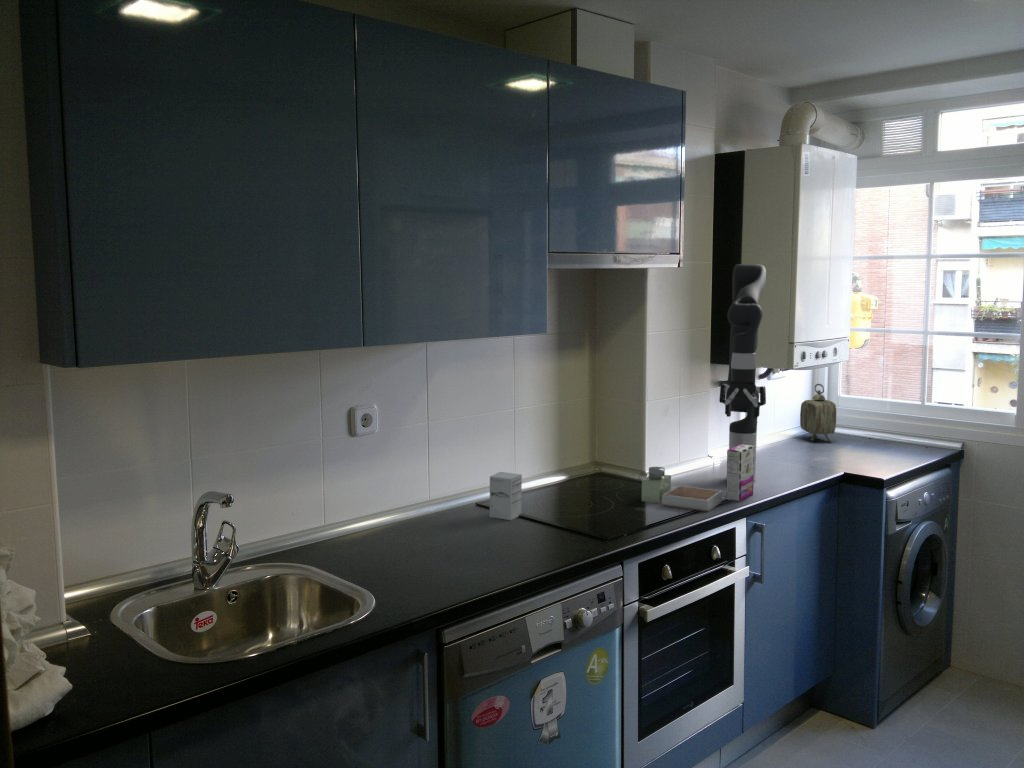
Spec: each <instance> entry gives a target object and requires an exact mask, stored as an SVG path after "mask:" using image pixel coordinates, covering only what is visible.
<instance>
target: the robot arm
mask: <svg viewBox="0 0 1024 768" xmlns="http://www.w3.org/2000/svg"><path fill="white" fill-rule="evenodd" d="M766 271H767V270H766V267H765V266H764V265H763V264H758V263H737V264H735V265H734V267H733V271H732V302H731V303H732V304H731V305H730V306H729V308H728V309H727V314H726V315H727V321H728V323H730V335H729V337H730V338H729V361H728V362H729V365H728V376H727V384H726V383H722V384H720V389H719V400H718V402H719V403H720V404H724V414H725V415H726V417H728V418H730V417H731V416H732V412H733V413H735V412H736V413H746V415H745V416H746V417H744V418H742V419H738V420H735V421H732V422H730V423H729V427H728V428H729V433H728V434H729V435H728V436H729V437H728V438H729V439H728V450H729V449H731V448H733V447H736V446H738V445H740V444H744V445H751V446H754V473H753V474H754V475H753V483H754V482H755V481H756V468H757V467H756V464H757V463H756V461H757V435H758V434H757V433H758V431H757V430H758V417H759V416H760V410H761V409H760V407H761V406H762V407H763V406H764V405H767V404H766V403H767V400H766V399H767V395H766V393H767V391H766V386H765V385H761V386H757V385H756V376H757V375H756V368H757V366H756V365H757V359H756V358H757V357H756V352H757V350H758V342H759V340H758V339H759V329H760V325H761V323H762V319H763V313H764V312H763V308H762V307H761V305H759V301H760V297H761V296H762V293H763V291H764V289H765V286H766V283H767V272H766Z"/></svg>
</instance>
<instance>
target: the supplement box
mask: <svg viewBox="0 0 1024 768" xmlns="http://www.w3.org/2000/svg"><path fill="white" fill-rule="evenodd" d="M522 479H523V474H521V473H513V472H505V471H499V472H497V473H494V474H492V475H490V476H489V518H496V519H499V520H506V521H512V520H515V519H516V518H518V517H520V516H521V515H522V490H523V489H522V486H523V485H522ZM520 514H521V515H520ZM519 515H520V516H519Z"/></svg>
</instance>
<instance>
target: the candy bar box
mask: <svg viewBox="0 0 1024 768" xmlns="http://www.w3.org/2000/svg"><path fill="white" fill-rule="evenodd" d="M726 455H727V456H726V500H728V501H734V502H742V501H744V500H746V499H747V498H749V497H751V496H753V495H754V482H753V475H754V474H753V473H754V446H751V445H744V444H740V445H738V446H736V447H733V448H731V449H729V448H728V449H727V450H726Z"/></svg>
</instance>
